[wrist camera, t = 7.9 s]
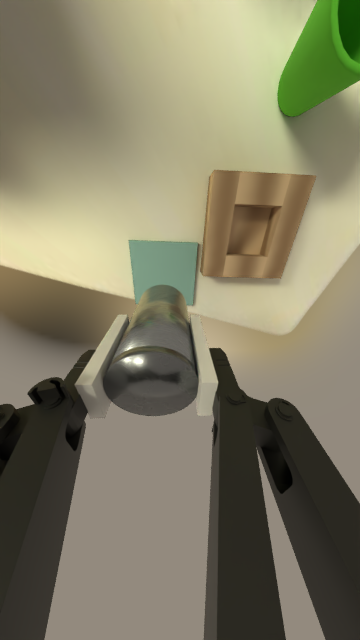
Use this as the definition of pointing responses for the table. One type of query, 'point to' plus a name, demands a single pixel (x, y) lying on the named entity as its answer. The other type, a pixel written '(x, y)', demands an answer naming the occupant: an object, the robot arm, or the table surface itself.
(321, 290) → the table surface
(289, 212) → the socket block
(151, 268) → the mat
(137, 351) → the gray metal can
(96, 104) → the table surface
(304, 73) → the cup
